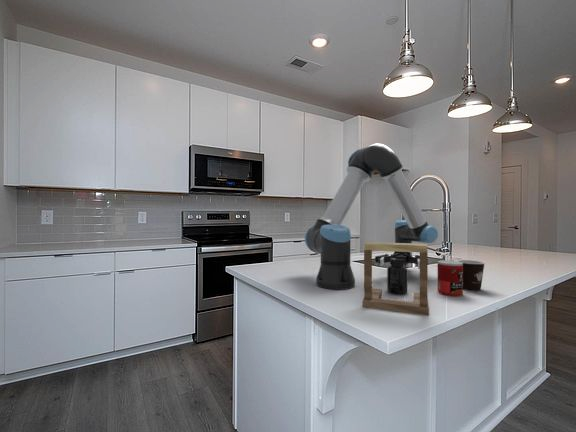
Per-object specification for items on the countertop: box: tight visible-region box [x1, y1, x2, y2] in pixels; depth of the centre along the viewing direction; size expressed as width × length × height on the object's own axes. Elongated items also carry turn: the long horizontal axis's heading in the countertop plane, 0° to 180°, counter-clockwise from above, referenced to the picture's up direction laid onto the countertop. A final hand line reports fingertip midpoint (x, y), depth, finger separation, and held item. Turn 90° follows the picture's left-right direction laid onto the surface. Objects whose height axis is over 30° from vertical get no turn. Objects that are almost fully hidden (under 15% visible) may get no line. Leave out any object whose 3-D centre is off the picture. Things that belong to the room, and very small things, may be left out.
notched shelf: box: [362, 241, 430, 316], centre depth 91 cm, size 15×18×19 cm
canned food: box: [437, 259, 464, 297], centre depth 102 cm, size 8×8×11 cm
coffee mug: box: [457, 259, 485, 292], centre depth 108 cm, size 12×9×10 cm
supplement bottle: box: [386, 258, 409, 295], centre depth 103 cm, size 7×7×12 cm
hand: (399, 263), depth 112 cm, fingers open, 13 cm apart
